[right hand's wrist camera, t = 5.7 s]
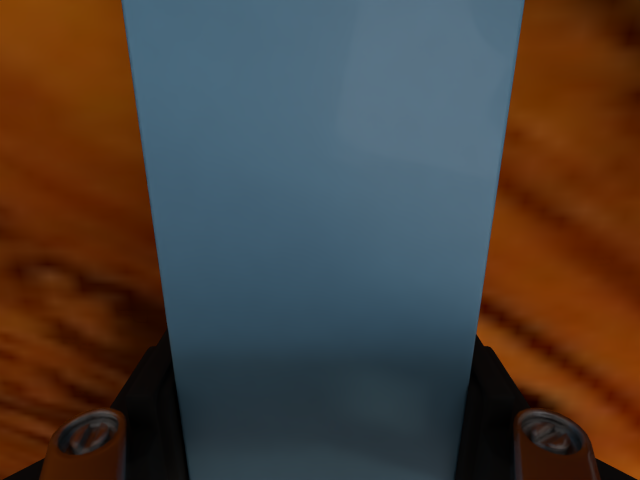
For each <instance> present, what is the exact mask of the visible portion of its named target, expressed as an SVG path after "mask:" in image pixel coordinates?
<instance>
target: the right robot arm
mask: <svg viewBox="0 0 640 480" xmlns="http://www.w3.org/2000/svg"><path fill="white" fill-rule="evenodd" d="M3 480H189V473H188V466H187V459H186V452H185V445H184V438H183V431H182V424H181V417H180V410H179V403H178V396H177V389H176V382H175V375H174V368H173V361H172V354H171V346H170V339H169V332H168V328H167V330H166V332H165V333H164V335H163V336H162V338H161V340H160V341H159V343H158V344H157V346H152V347H150V348H149V349H148V350H147V351H146V353H145V354H144V356H143V357H142V359H141V360H140V362H139V364H138V365H137V367H136V368H135V370H134V371H133V373H132V374H131V376H130V377H129V379H128V380H127V382H126V384H125V385H124V387H123V388H122V390H121V391H120V393H119V394H118V396H117V397H116V399H115V400H114V402H113V404H112V405H111V407H110V408H99V409H92V410H89V411H86V412H83V413H80V414H78V415H77V416H75V417H73V418H71V419H69V420H68V421H66V422H65V423H64V424H62V425H61V426H60V427H59V428H58V429H57V430H56V431H55V433H54V434H53V435H52V437H51V440H50V442H49V444H48V448H47V452H46V456H45V458H44V459H42V460H40V461H38V462H36V463H34V464H32V465H30V466H28V467H26V468H24V469H23V470H21V471H19V472H17V473H15V474H13V475H11V476H9V477H7V478H5V479H3ZM455 480H637V479H635V478H633V477H631V476H629V475H627V474H625V473H623V472H622V471H620V470H618V469H616V468H614V467H612V466H610V465H608V464H606V463H604V462H602V461H600V460H598V459H596V458H595V456H594V452H593V448H592V444H591V442H590V440H589V437H588V435H587V434H586V433H585V431H584V430H583V429H582V428H581V427H580V426H579V425H578V424H576V423H575V422H574V421H572V420H571V419H569V418H567V417H565V416H563V415H562V414H560V413H557V412H554V411H551V410H548V409H541V408H530V406H529V405H528V403H527V402H526V400H525V399H524V397H523V396H522V394H521V392H520V391H519V389H518V388H517V386H516V385H515V383H514V382H513V380H512V379H511V377H510V375H509V374H508V372H507V371H506V369H505V368H504V366H503V365H502V363H501V362H500V360H499V359H498V357H497V355H496V354H495V352H494V351H493V350H492V349H491V347H488V346H483V344H482V343H481V341H480V339H479V338H478V336H477V334H476V338H475V345H474V352H473V358H472V365H471V372H470V379H469V386H468V393H467V400H466V406H465V413H464V420H463V427H462V434H461V441H460V448H459V455H458V461H457V468H456V475H455Z"/></svg>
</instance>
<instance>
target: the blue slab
mask: <svg viewBox="0 0 640 480" xmlns="http://www.w3.org/2000/svg"><path fill="white" fill-rule="evenodd" d="M121 1H122V8H123V15H124V22H125V29H126V36H127V43H128V50H129V57H130V64H131V71H132V79H133V86H134V93H135V100H136V107H137V114H138V121H139V128H140V135H141V142H142V149H143V156H144V163H145V170H146V177H147V184H148V191H149V198H150V205H151V212H152V220H153V227H154V234H155V241H156V248H157V255H158V262H159V269H160V276H161V283H162V290H163V297H164V304H165V311H166V318H167V325H168V332H169V339H170V346H171V354H172V361H173V368H174V375H175V382H176V389H177V396H178V403H179V410H180V417H181V424H182V431H183V438H184V445H185V452H186V459H187V466H188V473H189V480H455V475H456V468H457V461H458V455H459V448H460V441H461V434H462V427H463V420H464V413H465V406H466V400H467V393H468V386H469V379H470V372H471V365H472V358H473V352H474V345H475V338H476V331H477V324H478V317H479V310H480V303H481V297H482V290H483V283H484V276H485V269H486V262H487V255H488V248H489V242H490V235H491V228H492V221H493V214H494V207H495V200H496V193H497V187H498V180H499V173H500V166H501V159H502V152H503V145H504V138H505V132H506V125H507V118H508V111H509V104H510V97H511V90H512V83H513V77H514V70H515V63H516V56H517V49H518V42H519V35H520V28H521V22H522V15H523V8H524V1H525V0H121Z"/></svg>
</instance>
